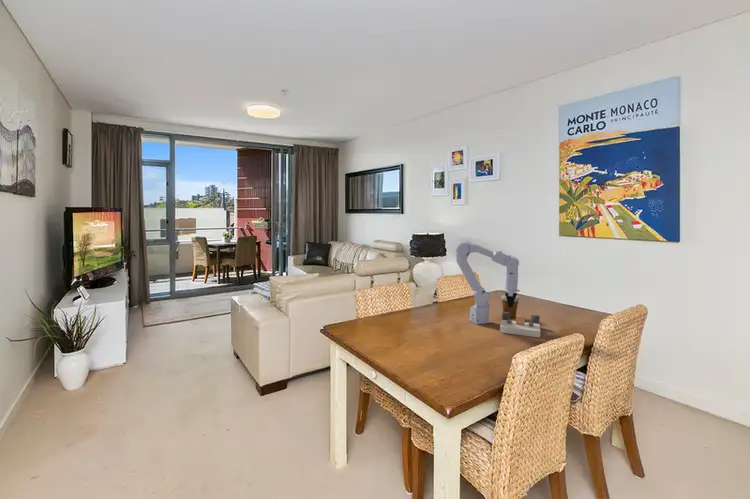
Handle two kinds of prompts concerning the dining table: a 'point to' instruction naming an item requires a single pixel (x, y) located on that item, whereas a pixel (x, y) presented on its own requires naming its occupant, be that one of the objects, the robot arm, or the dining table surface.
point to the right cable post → (535, 319)
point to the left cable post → (505, 315)
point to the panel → (520, 328)
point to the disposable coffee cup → (510, 307)
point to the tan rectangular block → (520, 320)
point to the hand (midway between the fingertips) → (510, 307)
